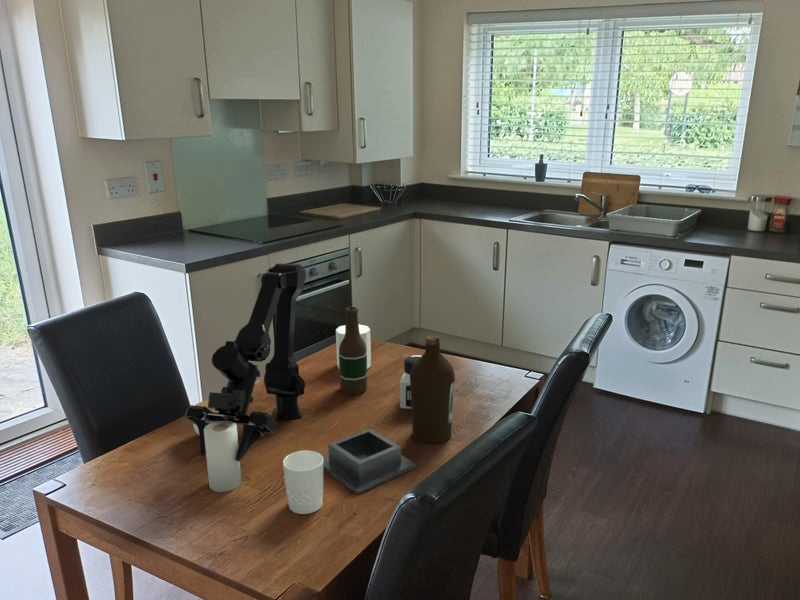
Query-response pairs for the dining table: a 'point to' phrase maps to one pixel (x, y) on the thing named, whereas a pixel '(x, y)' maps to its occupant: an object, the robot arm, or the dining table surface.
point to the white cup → (304, 481)
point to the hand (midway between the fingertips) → (219, 458)
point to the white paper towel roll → (222, 456)
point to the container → (407, 382)
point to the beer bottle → (352, 356)
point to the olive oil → (432, 394)
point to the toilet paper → (363, 333)
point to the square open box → (365, 460)
